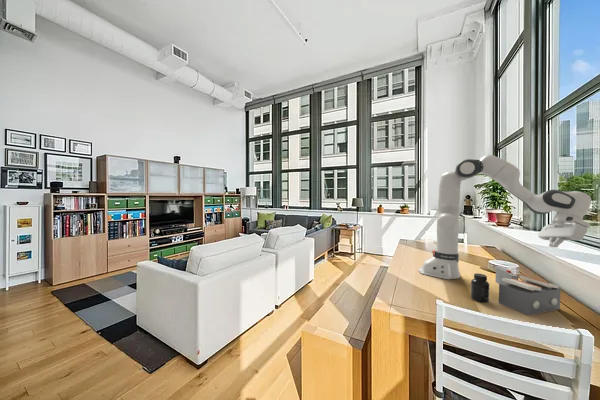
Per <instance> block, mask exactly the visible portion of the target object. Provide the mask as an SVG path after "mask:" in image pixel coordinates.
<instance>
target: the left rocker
mask: <svg viewBox="0 0 600 400" xmlns="http://www.w3.org/2000/svg"><path fill="white" fill-rule="evenodd" d="M502 281H505V282H508V283H509V284H512V285H515V286H518V287H521V288H524V289H527V290H530V291H534V290H539V291H541V288H542V287H539V286H536V285H533V284H529V283H526V282H523V281H524V280H519V279H518V280H517V279H507V278H502Z"/></svg>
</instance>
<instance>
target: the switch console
mask: <svg viewBox="0 0 600 400" xmlns="http://www.w3.org/2000/svg"><path fill="white" fill-rule="evenodd" d="M522 281H523V282H526V283H529V284H533V285H536V286H539V287H542V288H541V291H539V290H534V291H530V290H527V289H524V288H521V287H518V286H515V285H512V284H509V283H502V284H498V285H499V286H498V304H500V305H503V306H505V307H507V308H509V309H511V310H514V311H517V312H518V311H519V313H520V314H523V313H524V314H523V315H526V316H532V315H536V314H541V313H548V312H553V311H558V310H560V309H561V291H562V290H561V288H559V289H557V288H553V287H552V289H550V288H547V287H543V286H540V285H537V284H534V283H530V282H527V281H525V280H522Z"/></svg>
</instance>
